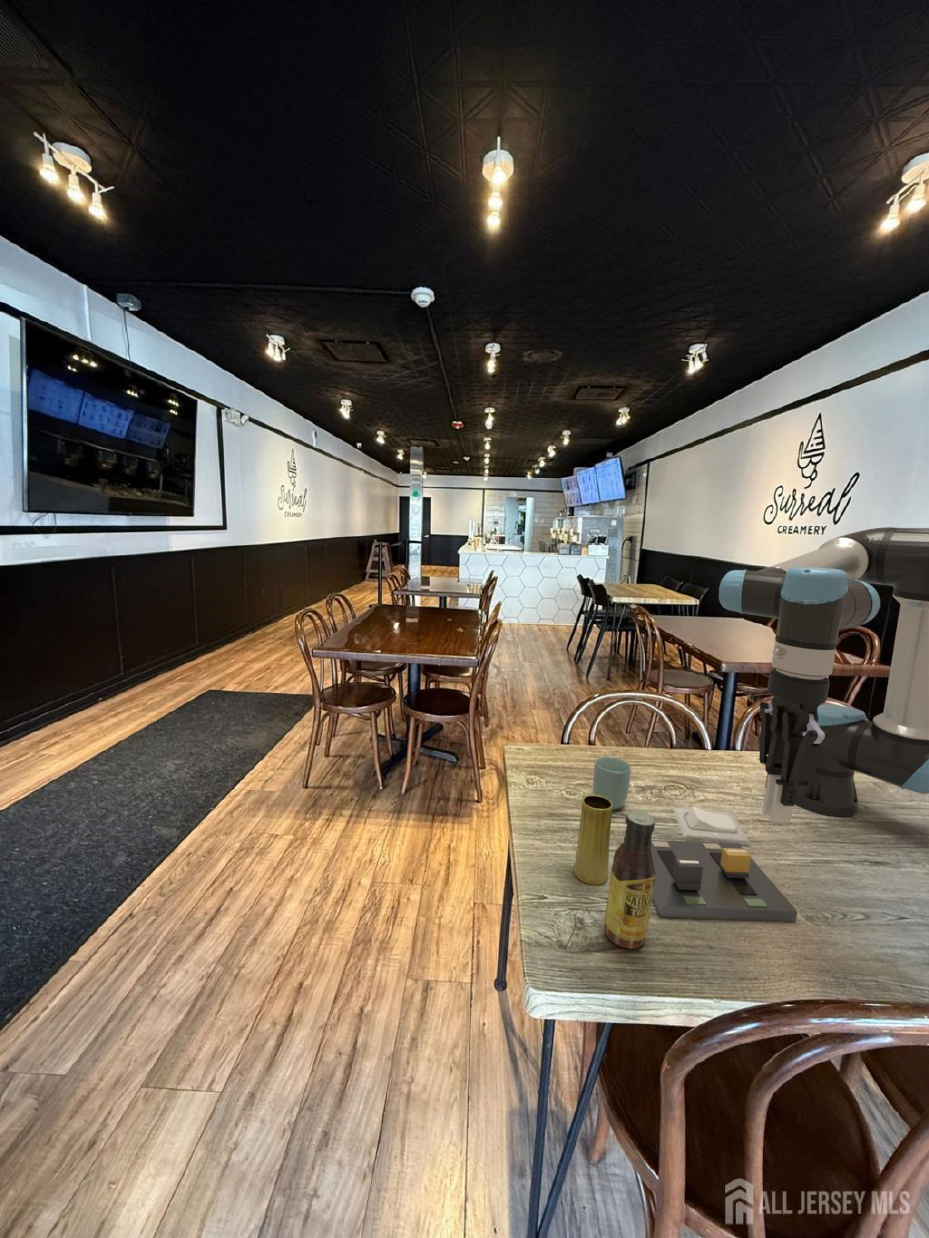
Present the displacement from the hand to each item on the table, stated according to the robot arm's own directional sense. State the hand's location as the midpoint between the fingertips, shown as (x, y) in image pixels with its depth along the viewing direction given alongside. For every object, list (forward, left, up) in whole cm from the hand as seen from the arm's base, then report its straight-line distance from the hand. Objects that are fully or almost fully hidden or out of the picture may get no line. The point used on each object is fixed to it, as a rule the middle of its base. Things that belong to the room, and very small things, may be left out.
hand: (775, 817), depth 79 cm
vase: (+25, -10, -19) cm, 33 cm away
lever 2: (0, -8, -16) cm, 18 cm away
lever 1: (+10, -5, -16) cm, 19 cm away
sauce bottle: (+23, +4, -19) cm, 30 cm away
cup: (+15, -34, -19) cm, 42 cm away
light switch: (-5, -27, -19) cm, 33 cm away
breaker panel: (+5, -9, -18) cm, 21 cm away
